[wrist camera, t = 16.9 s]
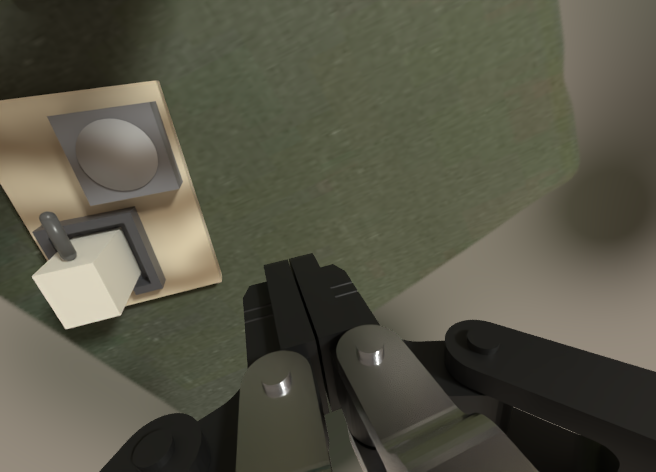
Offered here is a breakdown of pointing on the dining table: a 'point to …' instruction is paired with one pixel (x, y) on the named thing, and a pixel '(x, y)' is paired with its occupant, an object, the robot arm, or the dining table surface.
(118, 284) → the plug
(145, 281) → the frame
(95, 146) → the board
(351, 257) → the dining table surface
